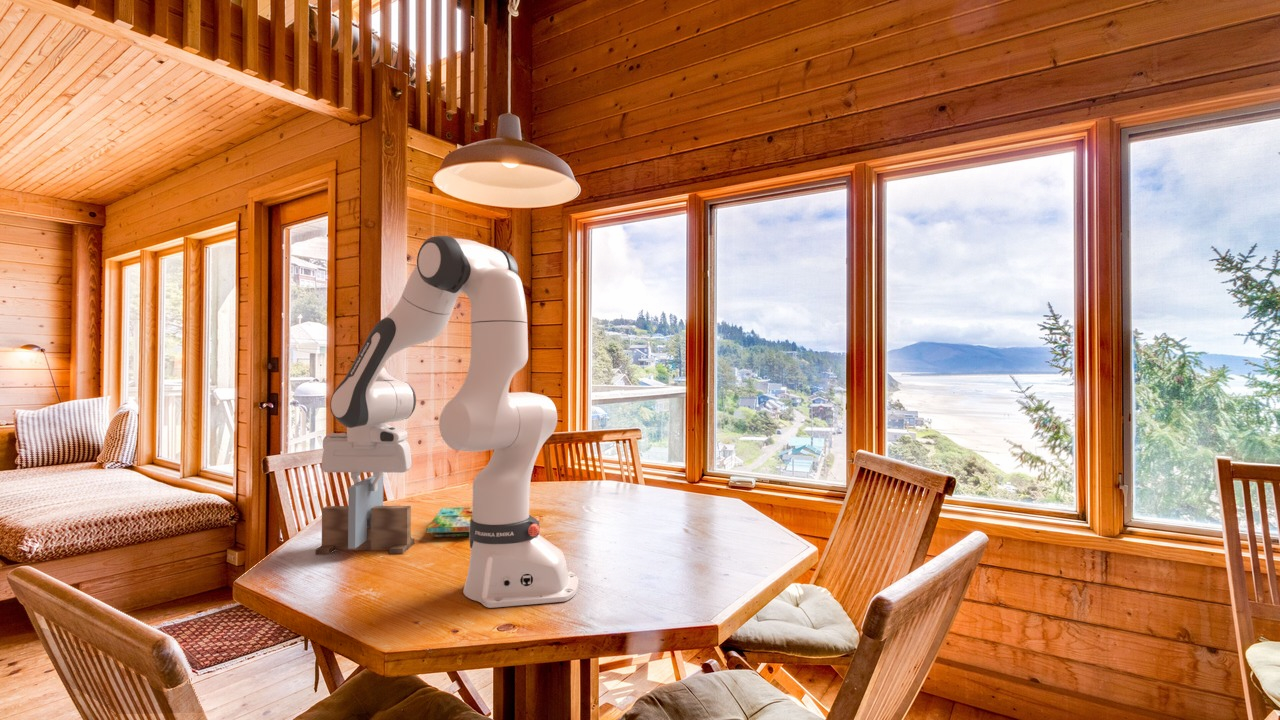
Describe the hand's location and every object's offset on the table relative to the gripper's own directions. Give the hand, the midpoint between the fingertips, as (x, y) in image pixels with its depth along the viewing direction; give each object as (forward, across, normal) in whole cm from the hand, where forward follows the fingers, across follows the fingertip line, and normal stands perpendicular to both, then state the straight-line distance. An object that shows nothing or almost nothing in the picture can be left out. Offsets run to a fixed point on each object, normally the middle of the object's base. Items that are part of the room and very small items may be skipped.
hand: (366, 490), depth 143 cm
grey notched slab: (+11, 0, 0) cm, 11 cm away
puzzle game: (+14, +18, +16) cm, 28 cm away
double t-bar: (+14, 0, 0) cm, 14 cm away
